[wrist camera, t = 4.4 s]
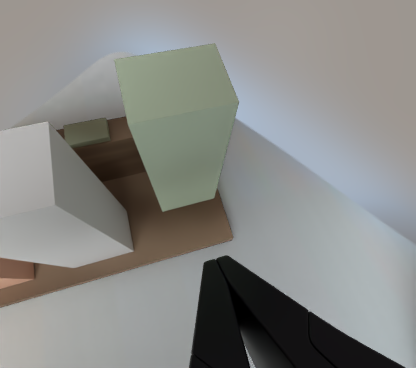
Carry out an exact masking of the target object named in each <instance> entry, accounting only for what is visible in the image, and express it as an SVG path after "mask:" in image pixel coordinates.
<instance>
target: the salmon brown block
mask: <svg viewBox="0 0 416 368" xmlns="http://www.w3.org/2000/svg"><path fill="white" fill-rule="evenodd" d="M30 280H34V262H27V261H21V260H14V259H7V258H0V289H2V288H5V287H9V286H13V285H16V284H20V283H23V282H27V281H30Z"/></svg>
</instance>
